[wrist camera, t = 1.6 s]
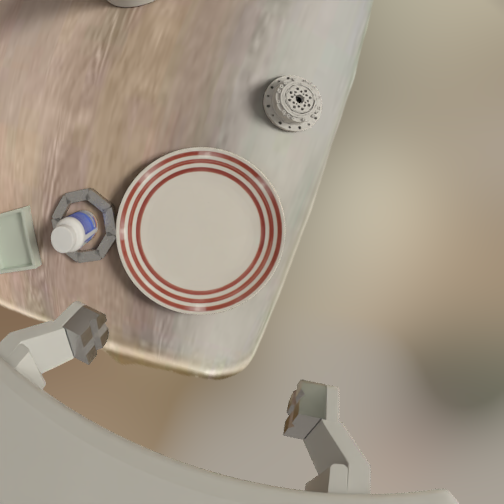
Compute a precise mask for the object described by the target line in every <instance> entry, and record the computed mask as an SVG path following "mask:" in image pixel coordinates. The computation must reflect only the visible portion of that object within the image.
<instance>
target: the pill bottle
mask: <svg viewBox="0 0 504 504" xmlns="http://www.w3.org/2000/svg"><path fill="white" fill-rule="evenodd" d="M97 229H98V223H97V220H96V218H95V216H94V215H93V214H92V213H91V212H89V211H87V210H81V211H78V212H76V213H74V214H71V215H69V216H67V217H65V218H63V219H61V220H60V221H59V222H58V223H57V225H56V228H55V229H54V230H53V232H52V234H51V243H52V245H53V247H54V249H55V250H56V251H58V252H60V253H67V252H75V251H77V250H78V249H80V248H81V247H82V246H83V245H85V244H86V243H87V242H88V241H90V240H91V239H92V238H93V237H94V236H95V234H96V232H97Z"/></svg>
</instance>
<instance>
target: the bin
mask: <svg viewBox="0 0 504 504" xmlns="http://www.w3.org/2000/svg"><path fill="white" fill-rule="evenodd" d="M41 264H42V262H41V258H40V254H39V250H38V246H37V241H36V237H35V232H34V227H33V222H32V216H31V210H30V205H29V206H26V207H22V208H19V209H15V210H12V211H8V212H5V213H1V214H0V274H3V273H9V272H16V271H22V270H29V269H35V268H37V267H39V266H40V265H41Z"/></svg>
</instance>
